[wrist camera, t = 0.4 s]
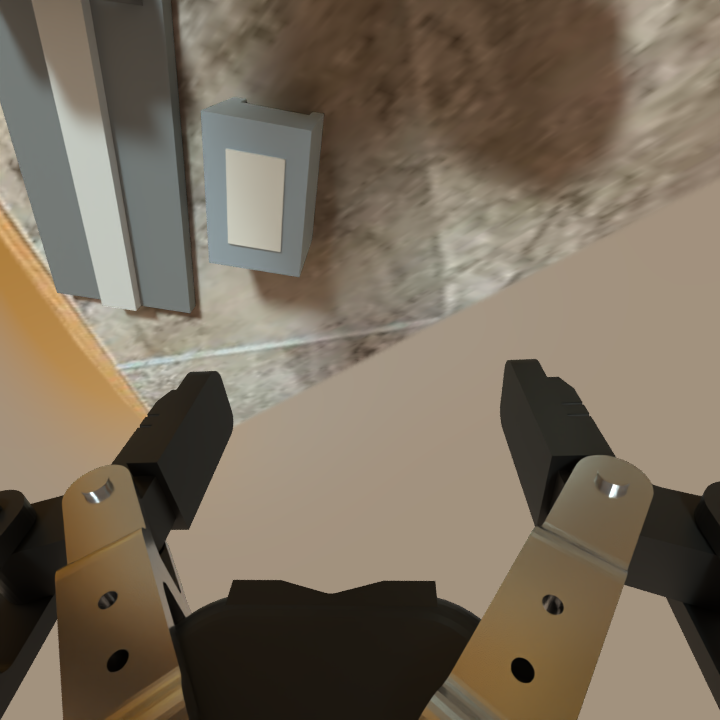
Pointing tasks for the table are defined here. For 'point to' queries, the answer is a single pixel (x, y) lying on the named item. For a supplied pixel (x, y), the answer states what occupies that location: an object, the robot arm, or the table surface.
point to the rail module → (260, 185)
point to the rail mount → (101, 145)
